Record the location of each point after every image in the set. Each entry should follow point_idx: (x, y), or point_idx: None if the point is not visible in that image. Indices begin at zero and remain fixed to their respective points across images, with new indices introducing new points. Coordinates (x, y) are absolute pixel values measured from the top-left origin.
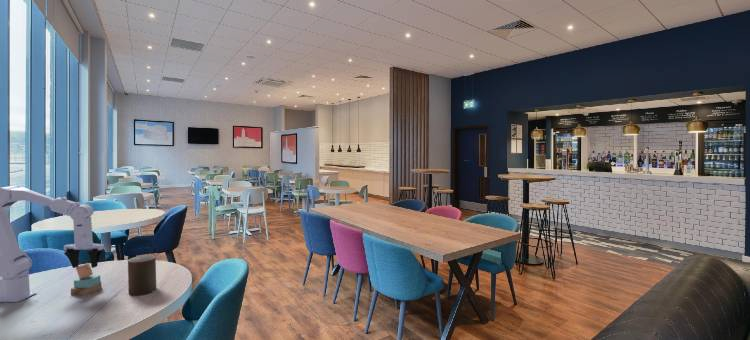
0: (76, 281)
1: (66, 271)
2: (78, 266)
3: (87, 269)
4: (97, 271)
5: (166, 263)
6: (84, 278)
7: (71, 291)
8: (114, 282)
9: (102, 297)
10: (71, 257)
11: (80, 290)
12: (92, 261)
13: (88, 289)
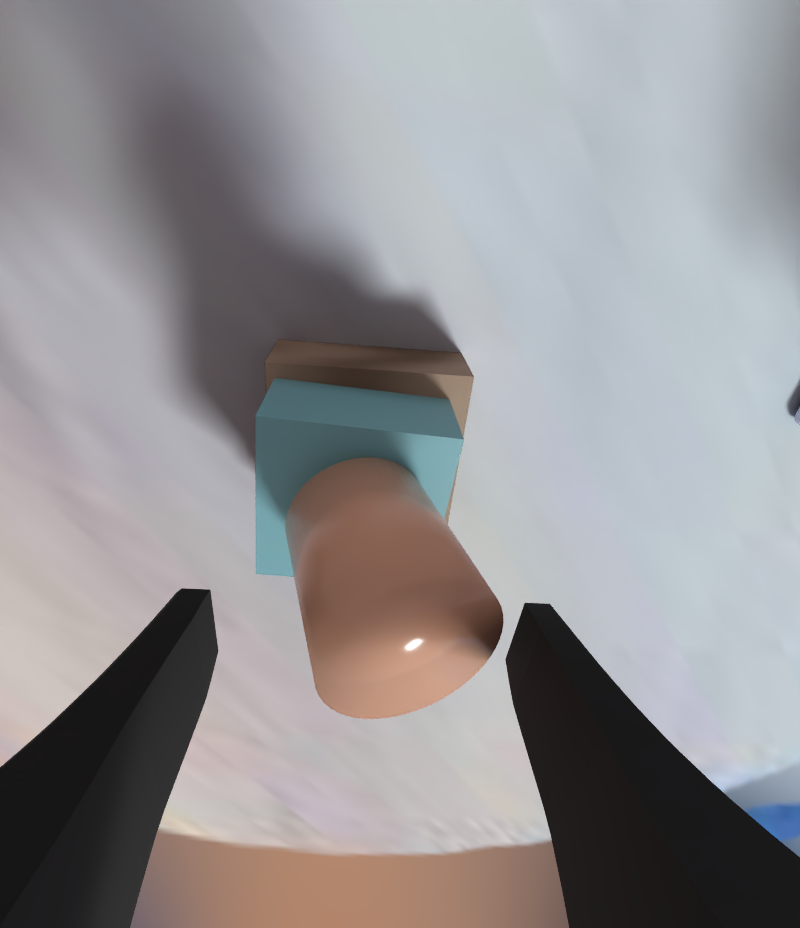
0: (428, 430)
1: (719, 747)
2: (467, 628)
3: (305, 574)
4: None
5: None
6: None
7: (460, 364)
8: (261, 588)
9: (58, 242)
10: (646, 814)
11: (364, 362)
12: (101, 694)
13: (271, 359)
